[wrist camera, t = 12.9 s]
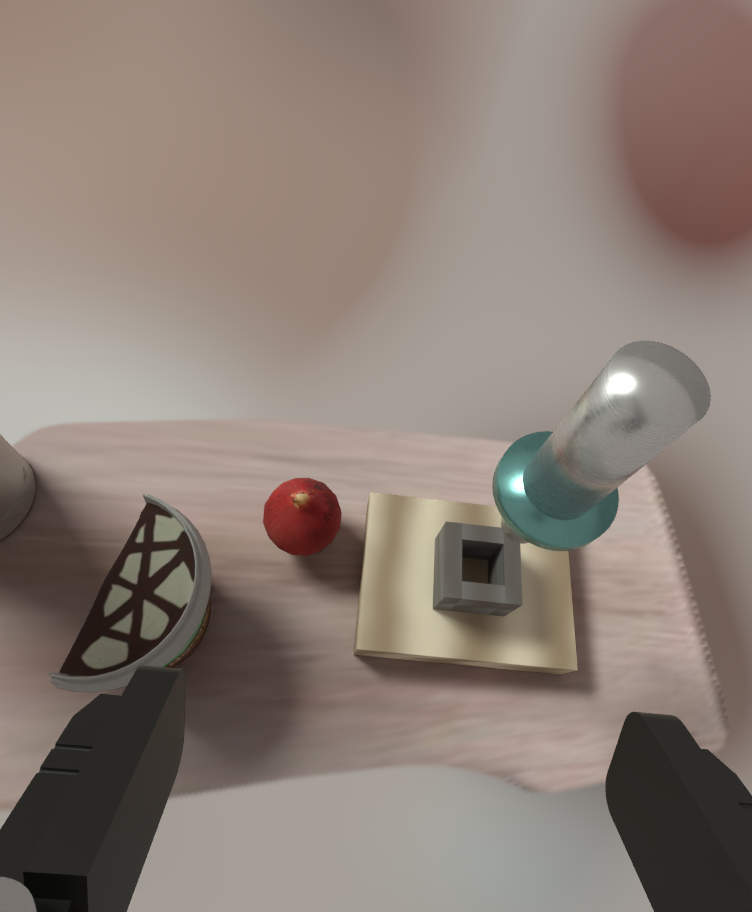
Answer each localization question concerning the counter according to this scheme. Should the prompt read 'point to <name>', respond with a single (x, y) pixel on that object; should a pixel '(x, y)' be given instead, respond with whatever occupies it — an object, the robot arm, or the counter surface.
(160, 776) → the robot arm
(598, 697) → the counter surface
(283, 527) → the onion
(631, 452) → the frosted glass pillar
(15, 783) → the counter surface
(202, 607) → the food container
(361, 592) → the wooden base with socket
